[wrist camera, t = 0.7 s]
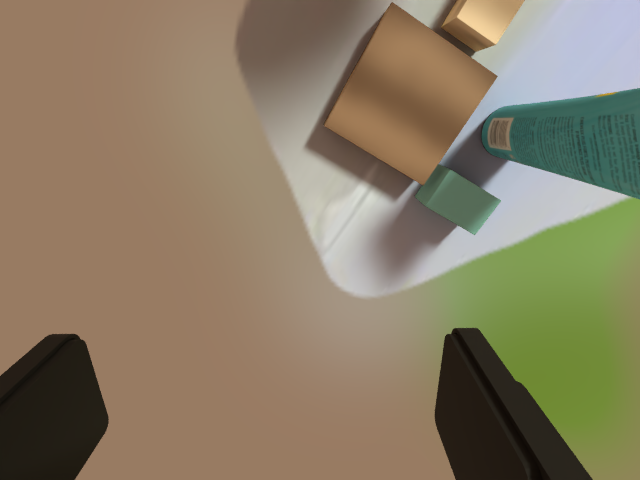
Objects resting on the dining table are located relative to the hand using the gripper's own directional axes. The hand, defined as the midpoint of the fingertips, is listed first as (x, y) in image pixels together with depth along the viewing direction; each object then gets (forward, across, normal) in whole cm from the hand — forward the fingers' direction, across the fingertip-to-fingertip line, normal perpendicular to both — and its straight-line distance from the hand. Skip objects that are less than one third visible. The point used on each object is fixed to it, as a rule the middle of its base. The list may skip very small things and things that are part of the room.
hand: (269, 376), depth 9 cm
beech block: (+29, -16, -15) cm, 36 cm away
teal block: (+29, -15, +2) cm, 33 cm away
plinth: (+29, -9, -7) cm, 31 cm away
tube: (+29, -20, -4) cm, 36 cm away
